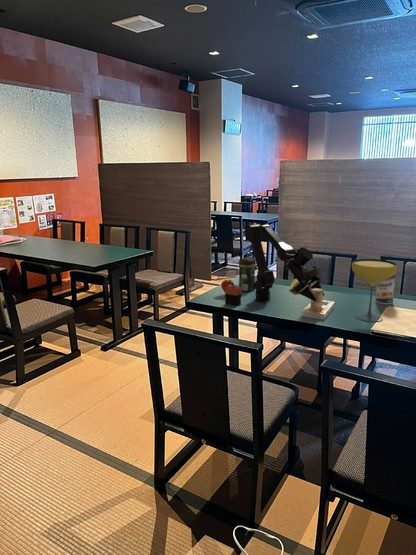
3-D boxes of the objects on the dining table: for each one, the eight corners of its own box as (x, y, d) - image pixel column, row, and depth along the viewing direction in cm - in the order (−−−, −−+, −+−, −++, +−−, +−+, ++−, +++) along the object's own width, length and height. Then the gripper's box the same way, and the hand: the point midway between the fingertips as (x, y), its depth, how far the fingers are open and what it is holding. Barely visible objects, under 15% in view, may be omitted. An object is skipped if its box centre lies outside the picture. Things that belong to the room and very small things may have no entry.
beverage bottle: (395, 302, 203) (399, 263, 198) (389, 305, 197) (393, 265, 192) (378, 298, 209) (382, 260, 204) (372, 302, 203) (375, 263, 198)
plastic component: (312, 288, 220) (295, 280, 221) (305, 299, 223) (289, 291, 224) (313, 277, 238) (298, 269, 239) (307, 287, 241) (292, 279, 242)
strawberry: (224, 292, 222) (224, 274, 219) (236, 294, 218) (236, 276, 216) (218, 295, 217) (218, 277, 214) (231, 297, 213) (231, 278, 211)
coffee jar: (244, 286, 233) (244, 255, 228) (256, 288, 229) (257, 256, 224) (236, 290, 225) (236, 258, 220) (249, 292, 221) (249, 259, 216)
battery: (237, 306, 197) (237, 287, 195) (224, 304, 201) (224, 285, 198) (241, 304, 201) (241, 285, 198) (229, 302, 204) (229, 283, 202)
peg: (310, 315, 185) (311, 289, 182) (312, 312, 188) (314, 287, 185) (318, 316, 182) (320, 291, 180) (321, 314, 186) (323, 289, 183)
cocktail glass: (380, 311, 190) (385, 258, 184) (399, 324, 172) (405, 267, 166) (341, 311, 189) (346, 259, 183) (357, 325, 172) (362, 267, 166)
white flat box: (301, 316, 183) (302, 310, 183) (314, 303, 201) (314, 298, 200) (324, 319, 179) (324, 313, 178) (334, 306, 196) (335, 301, 196)
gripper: (301, 264, 174) (324, 292, 170) (318, 257, 189) (340, 283, 185) (284, 279, 181) (306, 307, 177) (302, 271, 195) (322, 297, 191)
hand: (319, 298), depth 182 cm, fingers open, 9 cm apart
